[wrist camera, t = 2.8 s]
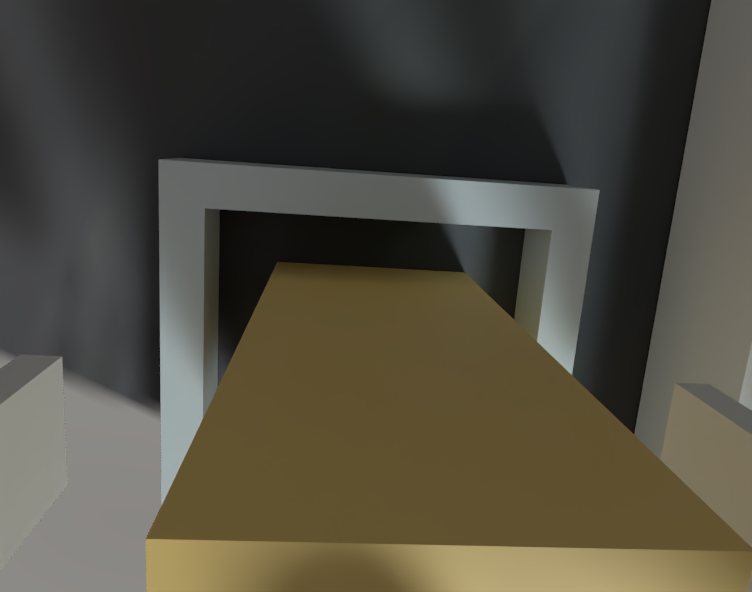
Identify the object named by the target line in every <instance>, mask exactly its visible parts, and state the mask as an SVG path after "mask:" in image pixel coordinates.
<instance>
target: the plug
mask: <svg viewBox="0 0 752 592" xmlns="http://www.w3.org/2000/svg"><path fill="white" fill-rule="evenodd" d="M751 572H752V547H751V546H750V545H749V544H748V543H747V542H746V541H744V540H743V539H742V538H741V537H740V536H739V535H738V534H737V533H736V532H735V531H734V530H733V529H732V528H731V527H730V526H729V525H728V524H727V523H726V522H725V521H724V520H723V519H722V518H720V517H719V516H718V515H717V514H716V513H715V512H714V511H713V510H712V509H711V508H710V507H709V506H708V505H707V504H706V503H705V502H704V501H703V500H702V499H701V498H700V497H699V496H698V495H696V494H695V493H694V492H693V491H692V490H691V489H690V488H689V487H688V486H687V485H686V484H685V483H684V482H683V481H682V480H681V479H680V478H679V477H678V476H677V475H676V474H675V473H674V472H672V471H671V470H670V469H669V468H668V467H667V466H666V465H665V464H664V463H663V462H662V461H661V460H660V459H659V458H658V457H657V456H656V455H655V454H654V453H653V452H652V451H651V450H650V449H648V448H647V447H646V446H645V445H644V444H643V443H642V442H641V441H640V440H639V439H638V438H637V437H636V436H635V435H634V434H633V433H632V432H631V431H630V430H629V429H628V428H627V427H626V426H624V425H623V424H622V423H621V422H620V421H619V420H618V419H617V418H616V417H615V416H614V415H613V414H612V413H611V412H610V411H609V410H608V409H607V408H606V407H605V406H604V405H603V404H602V403H600V402H599V401H598V400H597V399H596V398H595V397H594V396H593V395H592V394H591V393H590V392H589V391H588V390H587V389H586V388H585V387H584V386H583V385H582V384H581V383H580V382H579V381H578V380H576V379H575V378H574V377H573V376H572V375H571V374H570V373H569V372H568V371H567V370H566V369H565V368H564V367H563V366H562V365H561V364H560V363H559V362H558V361H557V360H556V359H555V358H554V357H552V356H551V355H550V354H549V353H548V352H547V351H546V350H545V349H544V348H543V347H542V346H541V345H540V344H539V343H538V342H537V341H536V340H535V339H534V338H533V337H532V336H531V335H530V334H528V333H527V332H526V331H525V330H524V329H523V328H522V327H521V326H520V325H519V324H518V323H517V322H516V321H515V320H514V319H513V318H512V317H511V316H510V315H509V314H508V313H507V312H506V311H504V310H503V309H502V308H501V307H500V306H499V305H498V304H497V303H496V302H495V301H494V300H493V299H492V298H491V297H490V296H489V295H488V294H487V293H486V292H485V291H484V290H483V289H482V288H480V287H479V286H478V285H477V284H476V283H475V282H474V281H473V280H472V279H471V278H470V277H469V276H468V275H467V274H466V273H465V272H449V271H432V270H414V269H396V268H379V267H361V266H344V265H326V264H309V263H291V262H277V264H276V266H275V268H274V270H273V272H272V274H271V276H270V279H269V281H268V283H267V285H266V287H265V289H264V291H263V293H262V295H261V297H260V300H259V302H258V304H257V306H256V308H255V310H254V312H253V314H252V316H251V319H250V321H249V323H248V325H247V327H246V329H245V331H244V333H243V335H242V337H241V340H240V342H239V344H238V346H237V348H236V350H235V352H234V354H233V356H232V359H231V361H230V363H229V365H228V367H227V369H226V371H225V373H224V375H223V377H222V380H221V382H220V384H219V386H218V388H217V390H216V392H215V394H214V396H213V399H212V401H211V403H210V405H209V407H208V409H207V411H206V413H205V415H204V417H203V420H202V422H201V424H200V426H199V428H198V430H197V432H196V434H195V436H194V439H193V441H192V443H191V445H190V447H189V449H188V451H187V453H186V455H185V457H184V460H183V462H182V464H181V466H180V468H179V470H178V472H177V474H176V476H175V479H174V481H173V483H172V485H171V487H170V489H169V491H168V493H167V495H166V497H165V500H164V502H163V504H162V506H161V508H160V510H159V512H158V515H157V516H156V519H155V521H154V523H153V525H152V527H151V529H150V532H149V533H148V535H147V538H146V583H147V584H146V587H147V592H747V589H748V584H749V580H750V576H751Z"/></svg>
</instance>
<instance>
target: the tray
mask: <svg viewBox="0 0 752 592" xmlns="http://www.w3.org/2000/svg"><path fill="white" fill-rule="evenodd" d="M599 191H600V190H597V189H591V188H585V187H578V186H572V185H564V184H550V183H535V182H521V181H506V180H492V179H478V178H463V177H449V176H434V175H420V174H406V173H391V172H377V171H362V170H348V169H334V168H319V167H305V166H290V165H276V164H262V163H247V162H233V161H218V160H204V159H190V158H172V159H159V277H160V398H161V506H162V504H163V502H164V500H165V497H166V495H167V493H168V491H169V489H170V487H171V485H172V483H173V481H174V479H175V476H176V474H177V472H178V470H179V468H180V466H181V464H182V462H183V460H184V457H185V455H186V453H187V451H188V449H189V447H190V445H191V443H192V441H193V439H194V436H195V434H196V432H197V430H198V428H199V426H200V424H201V422H202V420H203V417H204V415H205V413H206V411H207V409H208V407H209V405H210V403H211V401H212V399H213V396H214V394H215V392H216V390H217V385H218V313H219V240H220V209H224V210H239V211H255V212H271V213H287V214H303V215H319V216H334V217H350V218H366V219H382V220H398V221H414V222H429V223H445V224H461V225H477V226H493V227H509V228H525V235H524V243H523V251H522V259H521V267H520V275H519V283H518V291H517V299H516V307H515V315H514V320H515V321H516V322H517V323H518V324H519V325H520V326H521V327H522V328H523V329H524V330H525V331H526V332H527V333H528V334H530V335H531V336H532V337H533V338H534V339H535V340H536V341H537V342H538V343H539V344H540V345H541V346H542V347H543V348H544V349H545V350H546V351H547V352H548V353H549V354H550V355H551V356H552V357H554V358H555V359H556V360H557V361H558V362H559V363H560V364H561V365H562V366H563V367H564V368H565V369H566V370H567V371H568V372H569V373H570V374H571V375H572V371H573V364H574V358H575V351H576V344H577V338H578V331H579V324H580V318H581V311H582V304H583V297H584V291H585V284H586V277H587V271H588V264H589V257H590V251H591V244H592V237H593V231H594V224H595V217H596V211H597V204H598V197H599Z"/></svg>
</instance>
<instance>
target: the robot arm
mask: <svg viewBox="0 0 752 592" xmlns="http://www.w3.org/2000/svg"><path fill="white" fill-rule="evenodd" d="M661 461H662V462H663V463H664V464H665V465H666V466H667V467H668V468H669V469H670V470H671V471H672V472H674V473H675V474H676V475H677V476H678V477H679V478H680V479H681V480H682V481H683V482H684V483H685V484H686V485H687V486H688V487H689V488H690V489H691V490H692V491H693V492H694V493H695V494H696V495H698V496H699V497H700V498H701V499H702V500H703V501H704V502H705V503H706V504H707V505H708V506H709V507H710V508H711V509H712V510H713V511H714V512H715V513H716V514H717V515H718V516H719V517H720V518H722V519H723V520H724V521H725V522H726V523H727V524H728V525H729V526H730V527H731V528H732V529H733V530H734V531H735V532H736V533H737V534H738V535H739V536H740V537H741V538H742V539H743V540H744V541H746V542H747V543H748V544H749V545H750V546H751V547H752V410H750V409H748V408H747V407H745V406H744V405H742V404H740V403H739V402H737V401H736V400H734V399H732V398H731V397H729V396H728V395H726V394H724V393H723V392H721V391H720V390H718V389H716V388H715V387H713V386H712V385H710V384H695V383H675V385H674V391H673V396H672V401H671V406H670V412H669V417H668V422H667V428H666V433H665V438H664V444H663V449H662V454H661ZM67 485H68V480H67V457H66V434H65V412H64V389H63V366H62V356H40V355H20V356H18V357H17V358H15V359H14V360H12V361H11V362H9V363H8V364H6V365H5V366H3V367H2V368H0V571H1V570H2V568H3V567H4V566H5V564H6V563H7V562H8V561H9V559H10V558H11V557H12V555H13V554H14V553H15V552H16V550H17V549H18V548H19V547H20V545H21V544H22V543H23V541H24V540H25V539H26V538H27V536H28V535H29V534H30V532H31V531H32V530H33V529H34V527H35V526H36V525H37V523H38V522H39V520H41V518H42V517H43V516H44V514H45V513H46V512H47V511H48V509H49V508H50V506H51V505H52V504H53V503H54V502H55V500H56V499H57V498H58V496H59V495H60V494H61V493H62V491H63V490H64V489H65V487H66V486H67ZM747 592H752V572H751V576H750V580H749V584H748V589H747Z"/></svg>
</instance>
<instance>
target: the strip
mask: <svg viewBox="0 0 752 592" xmlns="http://www.w3.org/2000/svg"><path fill="white" fill-rule="evenodd" d="M675 383H695V384H710V385H712V386H713V387H715V388H716V389H718V390H720V391H721V392H723V393H724V394H726V395H728V396H729V397H731V398H732V399H734V400H736V401H737V402H739V403H740V404H742V405H744V406H745V407H747V408H748V409H750V410H752V0H711V5H710V11H709V16H708V22H707V28H706V33H705V39H704V44H703V50H702V56H701V61H700V67H699V73H698V78H697V84H696V89H695V95H694V101H693V106H692V112H691V118H690V123H689V129H688V134H687V140H686V146H685V151H684V157H683V162H682V168H681V174H680V179H679V185H678V191H677V196H676V202H675V207H674V213H673V219H672V224H671V230H670V236H669V241H668V247H667V252H666V258H665V264H664V269H663V275H662V281H661V286H660V292H659V297H658V303H657V309H656V314H655V320H654V326H653V331H652V337H651V342H650V348H649V354H648V359H647V365H646V371H645V376H644V382H643V387H642V393H641V399H640V404H639V410H638V416H637V421H636V427H635V432H634V435H635V436H636V437H637V438H638V439H639V440H640V441H641V442H642V443H643V444H644V445H645V446H646V447H647V448H648V449H650V450H651V451H652V452H653V453H654V454H655V455H656V456H657V457H658V458H659V459H660V460H661V454H662V449H663V444H664V438H665V433H666V428H667V422H668V417H669V412H670V406H671V401H672V396H673V391H674V385H675Z"/></svg>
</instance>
